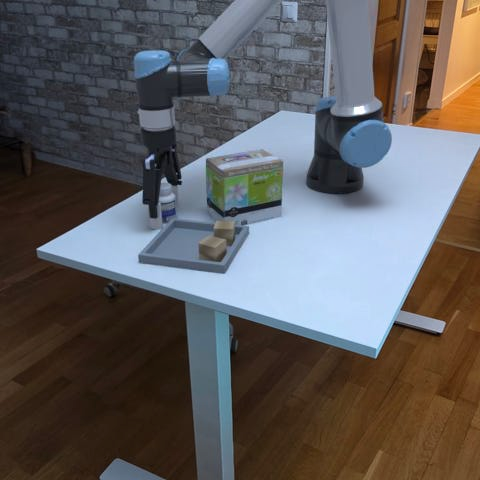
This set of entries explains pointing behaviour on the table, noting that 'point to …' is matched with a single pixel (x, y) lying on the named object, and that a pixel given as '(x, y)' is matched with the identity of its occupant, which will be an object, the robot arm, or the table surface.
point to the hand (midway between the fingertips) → (165, 220)
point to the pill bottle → (167, 203)
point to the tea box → (244, 187)
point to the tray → (189, 246)
